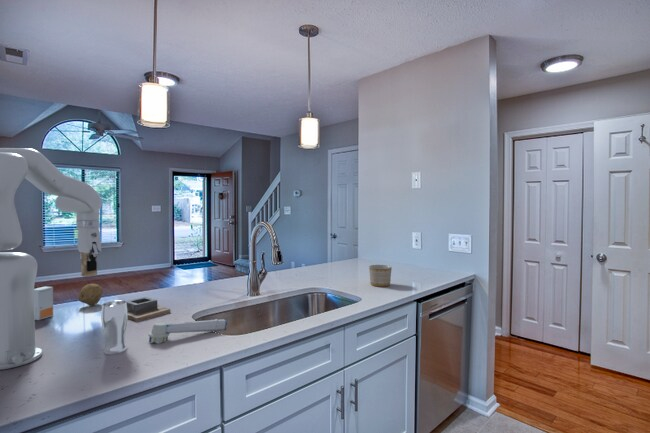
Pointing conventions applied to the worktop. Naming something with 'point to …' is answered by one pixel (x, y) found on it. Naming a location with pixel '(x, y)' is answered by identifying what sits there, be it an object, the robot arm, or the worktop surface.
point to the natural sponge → (90, 294)
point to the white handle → (184, 328)
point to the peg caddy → (144, 309)
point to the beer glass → (114, 326)
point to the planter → (380, 275)
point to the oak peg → (84, 265)
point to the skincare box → (43, 302)
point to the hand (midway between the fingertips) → (89, 269)
